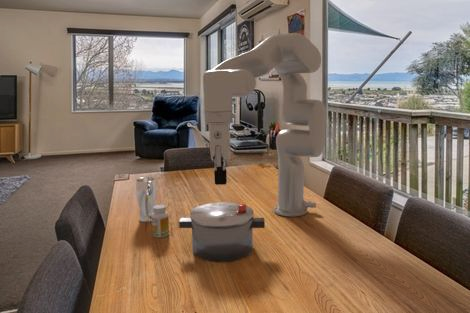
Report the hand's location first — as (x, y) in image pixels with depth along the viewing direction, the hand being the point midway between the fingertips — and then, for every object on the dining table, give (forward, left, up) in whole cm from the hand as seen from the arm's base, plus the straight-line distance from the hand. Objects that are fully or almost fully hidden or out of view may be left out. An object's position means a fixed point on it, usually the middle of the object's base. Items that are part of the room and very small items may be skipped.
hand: (220, 183), depth 103 cm
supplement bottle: (+21, -15, -22) cm, 34 cm away
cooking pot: (0, -5, -21) cm, 22 cm away
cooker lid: (0, -5, -11) cm, 12 cm away
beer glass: (+29, -29, -22) cm, 46 cm away
